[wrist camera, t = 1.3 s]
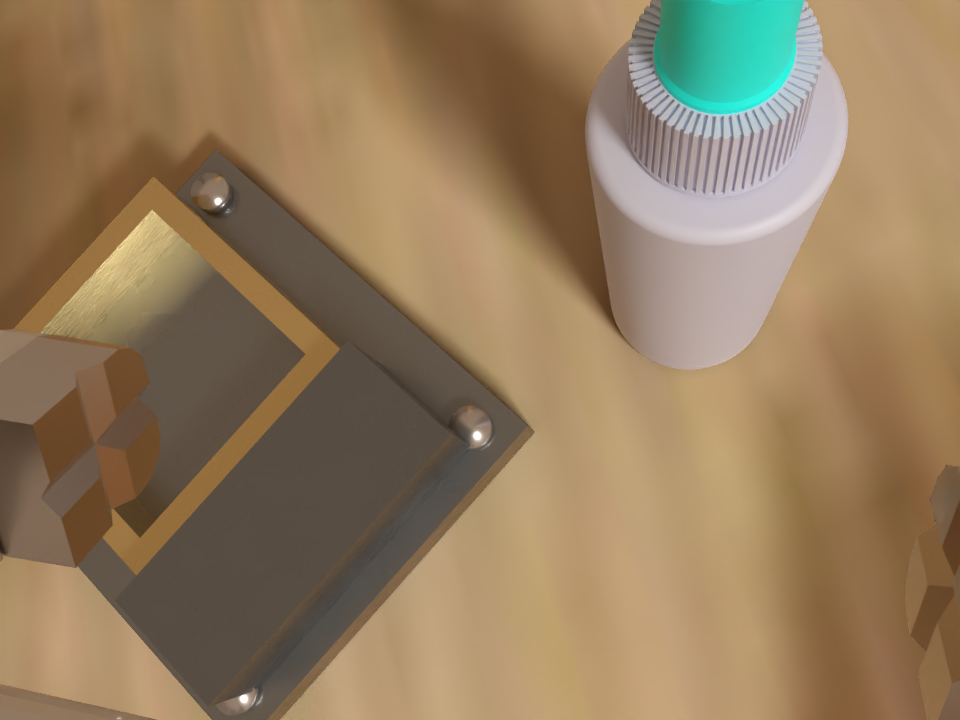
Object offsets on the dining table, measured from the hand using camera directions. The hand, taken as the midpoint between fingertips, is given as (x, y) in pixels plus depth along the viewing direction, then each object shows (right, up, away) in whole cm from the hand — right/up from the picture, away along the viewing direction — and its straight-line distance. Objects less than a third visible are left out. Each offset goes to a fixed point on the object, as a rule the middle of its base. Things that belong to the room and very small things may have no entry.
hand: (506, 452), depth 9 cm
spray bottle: (+8, +3, +27) cm, 28 cm away
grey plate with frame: (-10, -2, +29) cm, 31 cm away
